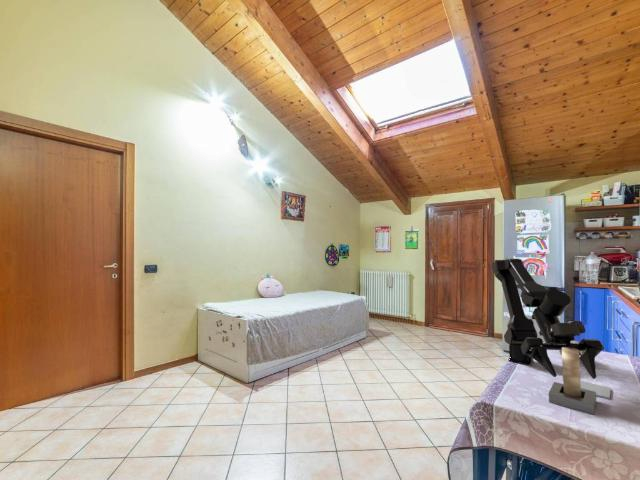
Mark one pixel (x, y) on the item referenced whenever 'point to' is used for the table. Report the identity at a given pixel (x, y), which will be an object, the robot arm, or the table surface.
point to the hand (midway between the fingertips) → (574, 377)
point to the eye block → (573, 399)
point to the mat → (597, 389)
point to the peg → (571, 371)
